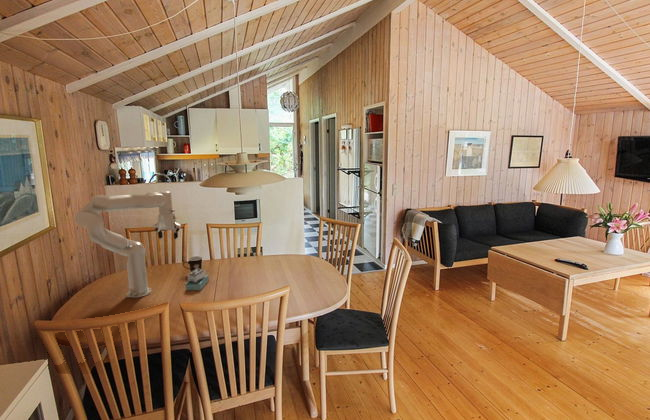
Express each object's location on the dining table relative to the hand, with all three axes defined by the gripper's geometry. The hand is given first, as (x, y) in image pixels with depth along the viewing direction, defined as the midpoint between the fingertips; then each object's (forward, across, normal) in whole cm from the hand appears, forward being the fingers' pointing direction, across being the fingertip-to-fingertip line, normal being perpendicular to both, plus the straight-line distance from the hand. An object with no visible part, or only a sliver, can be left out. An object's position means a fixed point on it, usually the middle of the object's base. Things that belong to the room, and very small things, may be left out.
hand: (168, 238), depth 223 cm
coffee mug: (+28, -9, -13) cm, 32 cm away
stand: (+28, -19, +6) cm, 34 cm away
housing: (+24, -19, +7) cm, 31 cm away
